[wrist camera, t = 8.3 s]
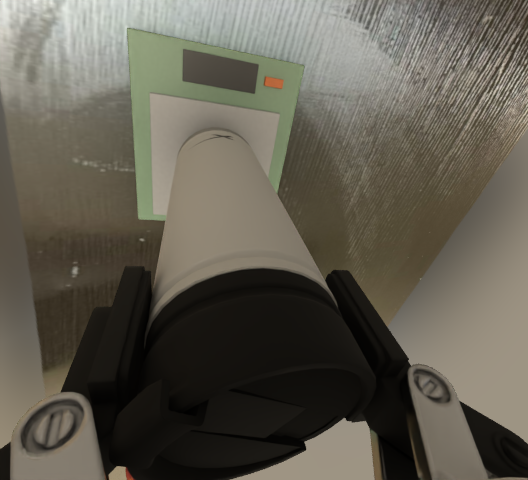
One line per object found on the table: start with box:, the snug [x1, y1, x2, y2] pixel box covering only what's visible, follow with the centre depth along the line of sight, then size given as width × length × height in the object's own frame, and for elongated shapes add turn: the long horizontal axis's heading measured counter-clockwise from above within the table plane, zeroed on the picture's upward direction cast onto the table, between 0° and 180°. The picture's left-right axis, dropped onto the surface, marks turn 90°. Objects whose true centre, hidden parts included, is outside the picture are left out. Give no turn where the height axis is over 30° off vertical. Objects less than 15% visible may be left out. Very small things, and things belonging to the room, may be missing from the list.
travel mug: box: [109, 127, 376, 480], centre depth 15 cm, size 6×7×20 cm
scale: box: [127, 28, 304, 221], centre depth 27 cm, size 16×14×3 cm
